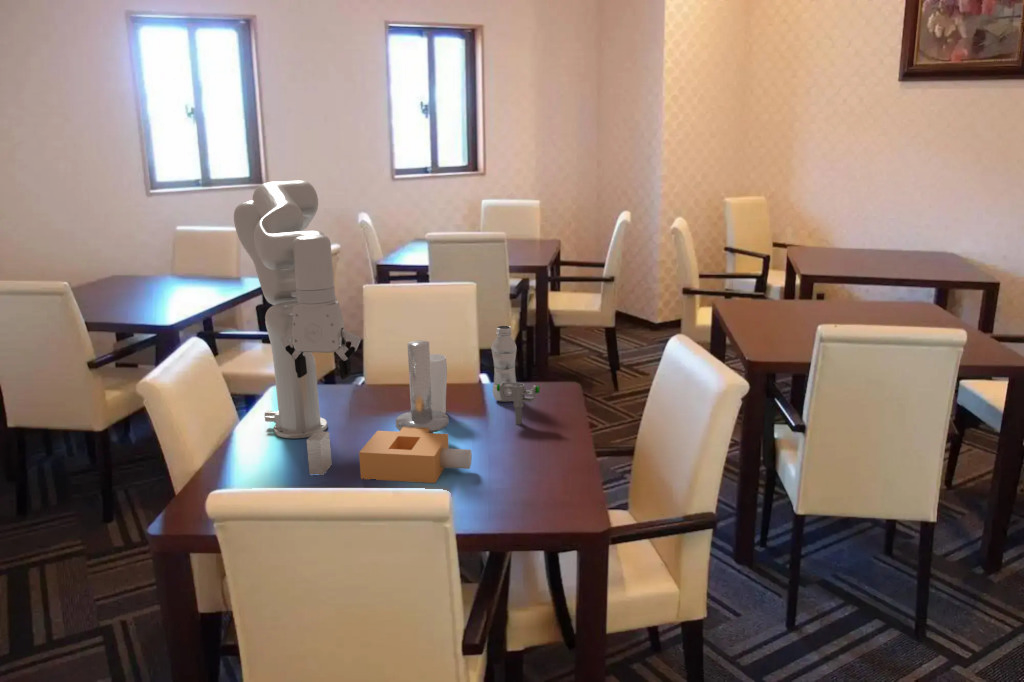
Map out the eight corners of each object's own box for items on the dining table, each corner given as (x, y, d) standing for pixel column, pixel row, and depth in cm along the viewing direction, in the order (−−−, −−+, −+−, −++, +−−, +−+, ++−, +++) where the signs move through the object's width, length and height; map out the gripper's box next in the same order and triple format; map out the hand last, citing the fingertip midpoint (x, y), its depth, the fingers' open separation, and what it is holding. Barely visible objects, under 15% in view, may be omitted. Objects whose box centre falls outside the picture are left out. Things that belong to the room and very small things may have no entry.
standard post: (390, 452, 181) (384, 350, 174) (405, 432, 192) (400, 335, 186) (442, 455, 179) (437, 351, 173) (454, 434, 190) (450, 337, 184)
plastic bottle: (518, 404, 210) (516, 330, 204) (492, 404, 210) (490, 330, 205) (518, 396, 216) (517, 324, 211) (493, 396, 216) (491, 324, 211)
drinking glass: (427, 420, 200) (425, 362, 196) (417, 412, 205) (415, 356, 201) (452, 415, 203) (450, 358, 199) (442, 407, 208) (440, 352, 204)
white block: (309, 475, 170) (306, 440, 168) (318, 465, 175) (315, 431, 173) (323, 476, 170) (320, 440, 168) (331, 466, 174) (329, 431, 172)
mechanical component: (538, 427, 194) (538, 387, 192) (497, 424, 196) (496, 385, 194) (540, 422, 197) (540, 383, 195) (499, 420, 199) (498, 381, 197)
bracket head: (360, 478, 168) (358, 452, 166) (383, 450, 182) (381, 425, 181) (464, 484, 164) (463, 457, 163) (478, 455, 179) (477, 429, 177)
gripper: (268, 299, 162) (277, 380, 167) (348, 300, 159) (355, 383, 163) (285, 292, 170) (293, 370, 174) (363, 293, 166) (369, 372, 170)
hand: (323, 376), depth 168 cm, fingers open, 9 cm apart
